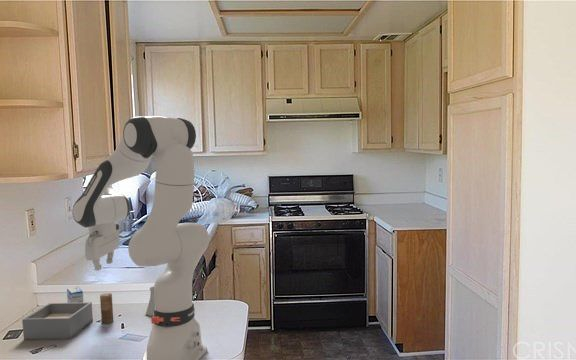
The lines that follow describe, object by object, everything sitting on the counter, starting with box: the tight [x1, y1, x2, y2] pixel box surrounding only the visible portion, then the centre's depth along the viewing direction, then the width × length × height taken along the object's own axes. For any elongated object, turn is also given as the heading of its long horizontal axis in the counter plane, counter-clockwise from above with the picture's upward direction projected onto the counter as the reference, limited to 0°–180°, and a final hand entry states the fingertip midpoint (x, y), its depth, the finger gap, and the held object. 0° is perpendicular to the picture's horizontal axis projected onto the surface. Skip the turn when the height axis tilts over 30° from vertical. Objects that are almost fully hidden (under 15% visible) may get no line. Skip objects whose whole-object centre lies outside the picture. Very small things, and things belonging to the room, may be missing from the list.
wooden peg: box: [99, 292, 114, 325], centre depth 166 cm, size 4×4×10 cm
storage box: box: [21, 301, 94, 341], centre depth 160 cm, size 16×16×7 cm
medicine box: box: [66, 286, 85, 303], centre depth 179 cm, size 8×4×9 cm, turn 37°
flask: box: [145, 286, 155, 317], centre depth 174 cm, size 7×7×10 cm
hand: (104, 266), depth 165 cm, fingers open, 8 cm apart
